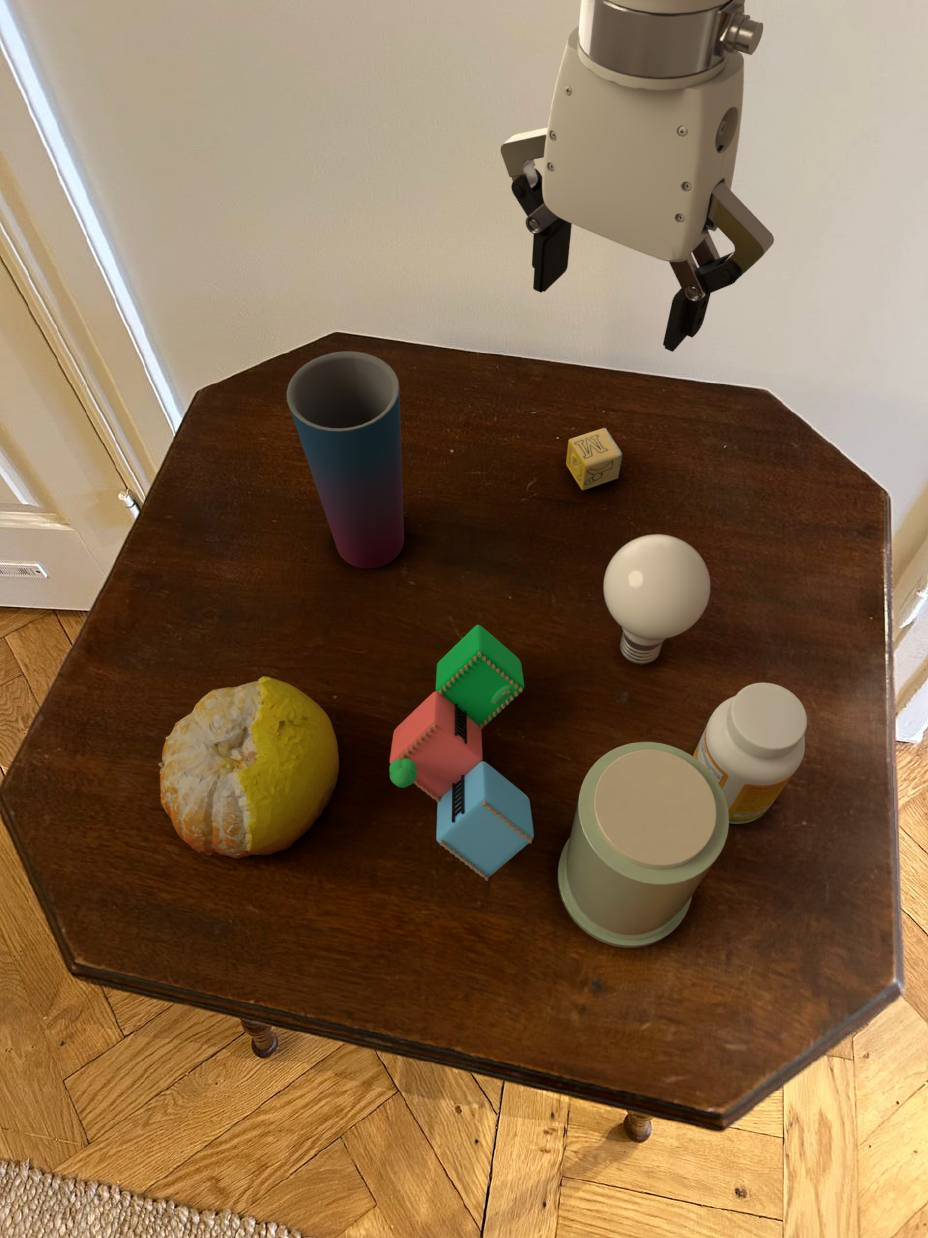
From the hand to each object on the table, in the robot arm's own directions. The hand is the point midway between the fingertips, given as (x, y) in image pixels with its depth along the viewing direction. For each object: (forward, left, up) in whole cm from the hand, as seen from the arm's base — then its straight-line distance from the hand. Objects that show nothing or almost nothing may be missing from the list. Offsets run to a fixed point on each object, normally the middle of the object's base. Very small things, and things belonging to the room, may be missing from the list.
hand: (612, 308), depth 59 cm
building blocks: (-8, +26, -15) cm, 31 cm away
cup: (+9, +16, -15) cm, 24 cm away
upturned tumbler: (-19, +27, -14) cm, 36 cm away
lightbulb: (-12, +13, -15) cm, 23 cm away
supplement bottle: (-21, +18, -15) cm, 31 cm away
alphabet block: (-1, +1, -15) cm, 15 cm away
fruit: (+3, +35, -15) cm, 38 cm away
